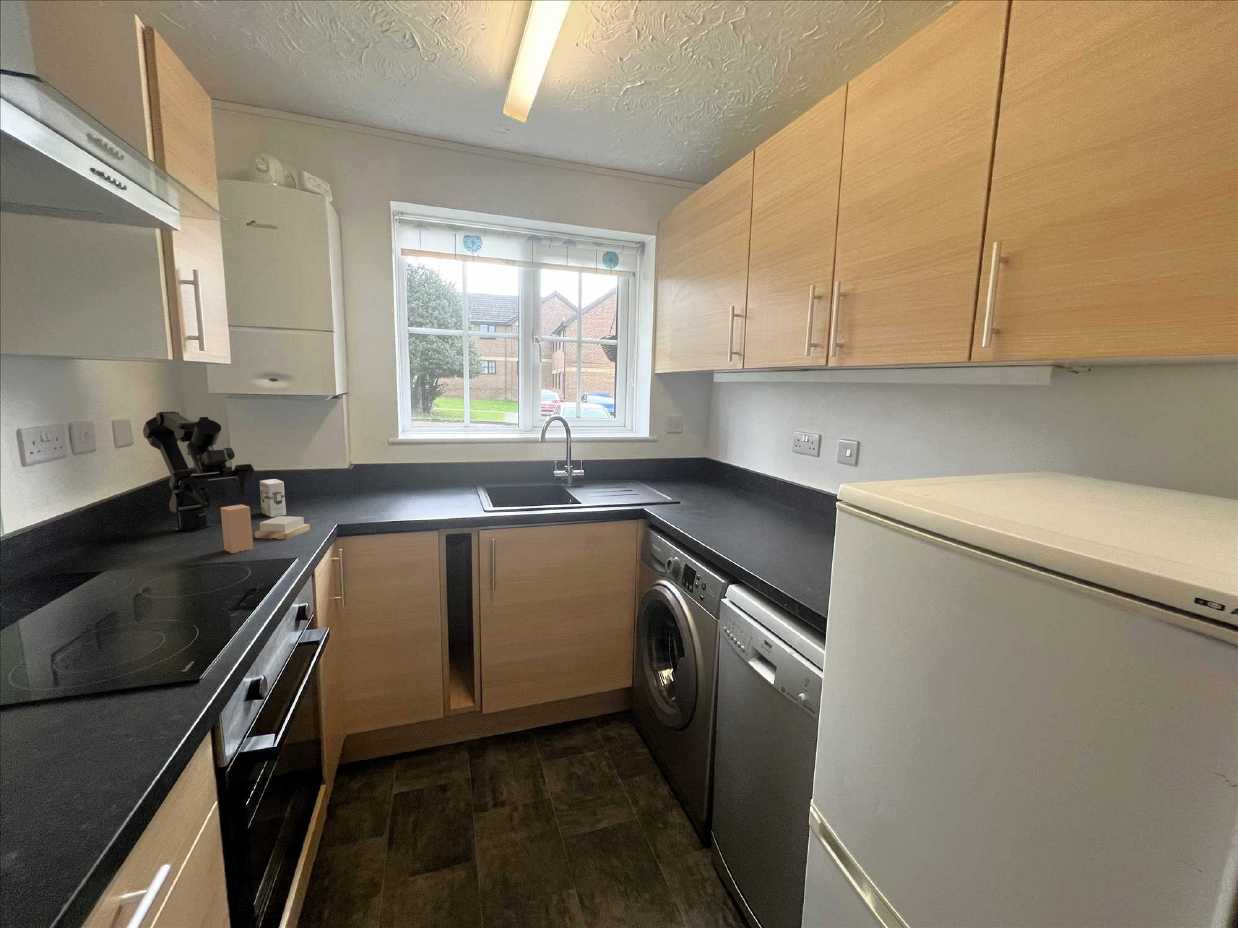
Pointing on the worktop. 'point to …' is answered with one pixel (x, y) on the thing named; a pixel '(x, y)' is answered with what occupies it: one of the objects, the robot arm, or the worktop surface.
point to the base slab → (282, 533)
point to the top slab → (281, 524)
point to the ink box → (272, 497)
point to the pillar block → (236, 528)
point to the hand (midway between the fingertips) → (224, 499)
